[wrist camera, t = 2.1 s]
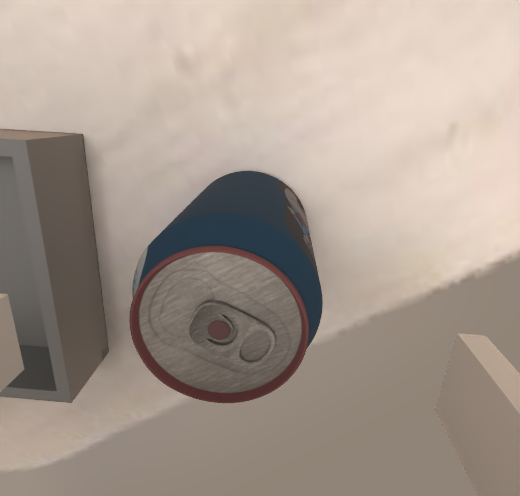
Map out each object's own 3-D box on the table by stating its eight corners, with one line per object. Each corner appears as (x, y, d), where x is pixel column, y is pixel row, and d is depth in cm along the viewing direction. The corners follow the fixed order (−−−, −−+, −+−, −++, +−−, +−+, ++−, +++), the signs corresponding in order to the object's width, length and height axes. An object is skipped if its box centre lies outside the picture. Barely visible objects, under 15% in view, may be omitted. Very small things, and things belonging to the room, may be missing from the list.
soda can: (178, 242, 23) (81, 364, 12) (225, 146, 21) (158, 184, 10) (272, 290, 24) (262, 445, 13) (327, 202, 22) (373, 298, 10)
